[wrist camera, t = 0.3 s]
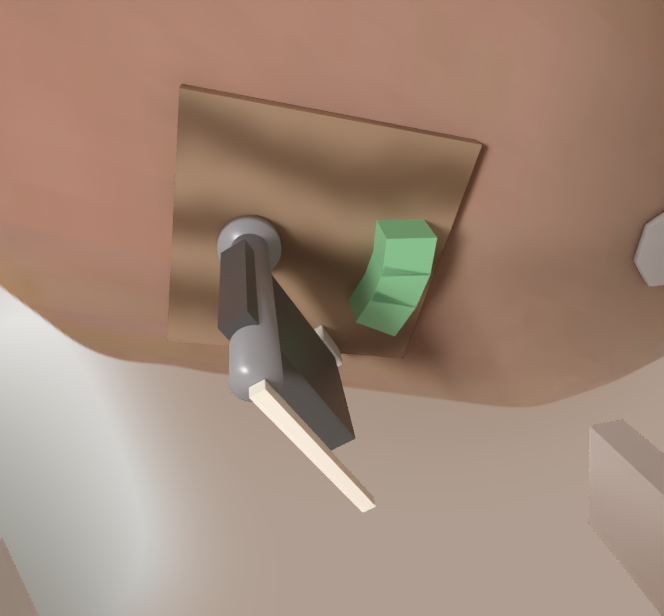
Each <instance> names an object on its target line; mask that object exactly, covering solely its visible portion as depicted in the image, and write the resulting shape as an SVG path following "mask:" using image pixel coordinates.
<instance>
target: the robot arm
mask: <svg viewBox="0 0 664 616" xmlns="http://www.w3.org/2000/svg"><path fill="white" fill-rule="evenodd" d="M589 524H590V526H591V527H592V528H593V530H594V531H595V532H596V533H597V535H598V536H599V537H600V538H601V540H602V541H603V542H604V543H605V545H606V546H607V547H608V549H609V550H610V551H611V552H612V554H613V555H614V556H615V557H616V559H617V560H618V561H619V562H620V564H621V565H622V566H623V567H624V569H625V570H626V571H627V573H628V574H629V575H630V576H631V578H632V579H633V580H634V581H635V583H636V584H637V585H638V587H639V588H640V589H641V590H642V592H643V593H644V594H645V595H646V597H647V598H648V599H649V600H650V602H651V603H652V604H653V606H654V607H655V608H656V609H657V611H658V612H659V613H660V614H661V616H664V453H662V452H661V451H660V450H659V449H657V448H656V447H655V446H654V445H653V444H651V443H650V442H649V441H648V440H647V439H645V438H644V437H643V436H641V434H639V433H638V432H637V431H636V430H635V429H633V428H632V427H631V426H630V425H629V424H627V423H626V422H625V421H624V420H623V419H622V420H617V421H611V422H607V423H601V424H596V425H590V433H589ZM0 616H38V614H37V611H36V609H35V607H34V605H33V603H32V601H31V598H30V596H29V594H28V592H27V590H26V588H25V586H24V583H23V581H22V579H21V577H20V575H19V573H18V571H17V569H16V566H15V564H14V562H13V560H12V558H11V556H10V553H9V551H8V549H7V547H6V545H5V543H4V541H3V538H2V537H0Z"/></svg>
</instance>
